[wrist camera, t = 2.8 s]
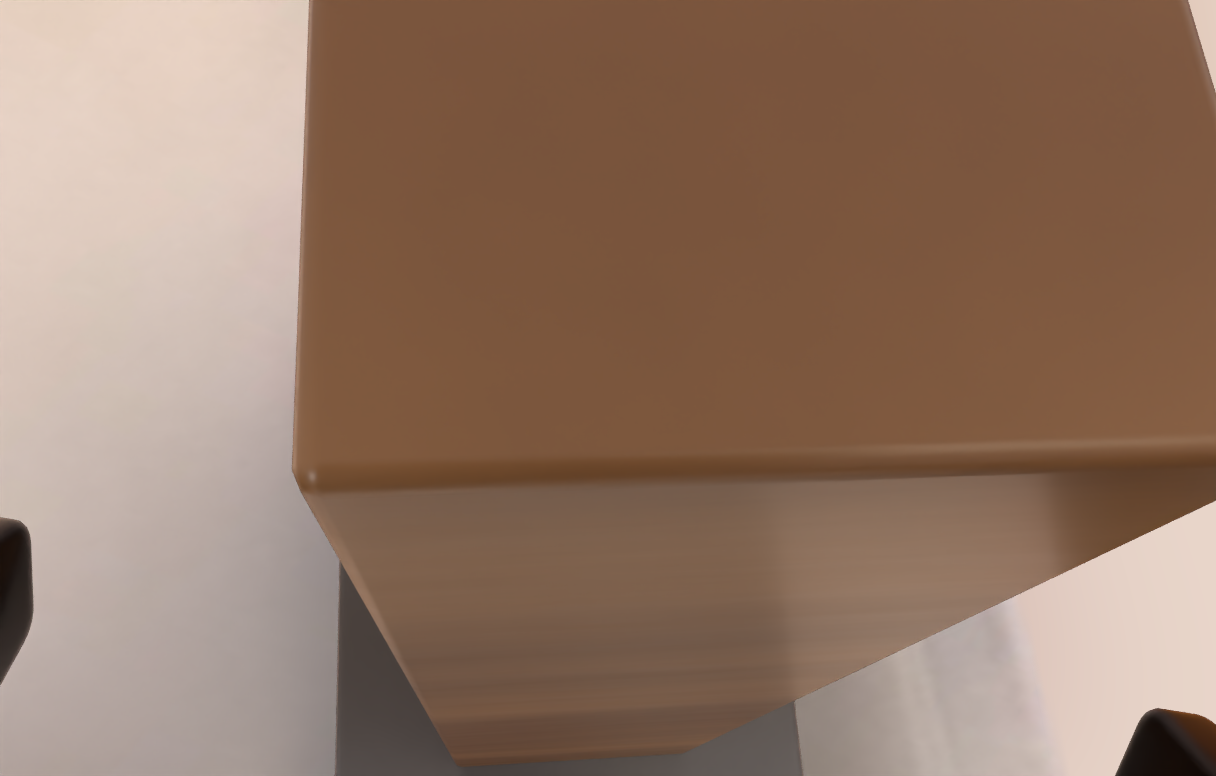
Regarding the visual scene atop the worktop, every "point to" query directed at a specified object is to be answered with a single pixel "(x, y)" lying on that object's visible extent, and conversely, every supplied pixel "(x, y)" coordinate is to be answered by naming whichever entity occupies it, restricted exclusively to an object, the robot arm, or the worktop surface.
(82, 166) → the worktop surface
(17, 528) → the robot arm
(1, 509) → the worktop surface
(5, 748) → the worktop surface
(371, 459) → the duster
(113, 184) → the worktop surface
